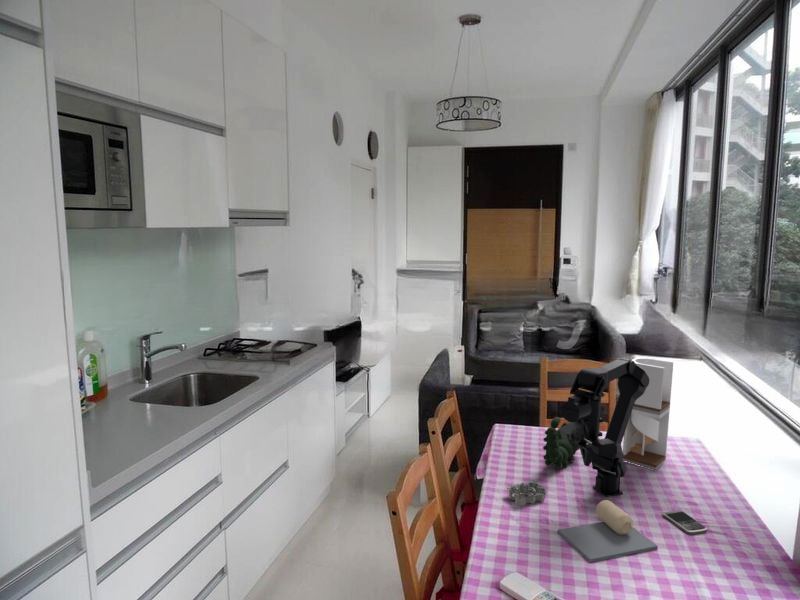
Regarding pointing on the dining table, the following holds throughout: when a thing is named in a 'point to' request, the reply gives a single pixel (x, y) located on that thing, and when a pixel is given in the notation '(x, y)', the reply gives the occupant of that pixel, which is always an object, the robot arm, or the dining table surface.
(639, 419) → the display case
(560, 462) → the toy figurine
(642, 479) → the dining table surface
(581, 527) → the rubber mat
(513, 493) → the grey jagged ring-shaped piece
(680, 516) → the cell phone
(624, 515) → the candle
